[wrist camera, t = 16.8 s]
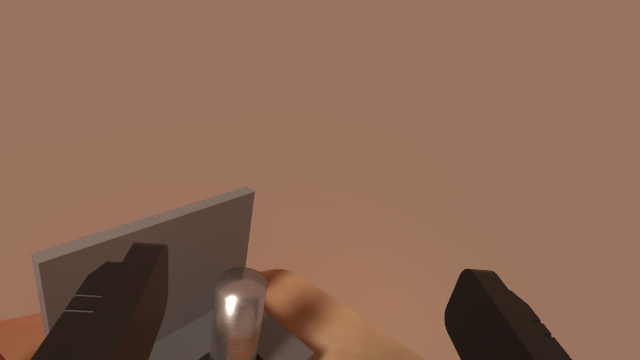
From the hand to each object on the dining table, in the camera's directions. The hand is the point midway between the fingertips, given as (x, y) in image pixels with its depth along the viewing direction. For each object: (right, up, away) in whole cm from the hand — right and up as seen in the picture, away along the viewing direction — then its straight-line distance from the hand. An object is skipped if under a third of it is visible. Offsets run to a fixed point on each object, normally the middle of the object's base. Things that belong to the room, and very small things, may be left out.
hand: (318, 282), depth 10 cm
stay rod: (-8, -17, +25) cm, 31 cm away
